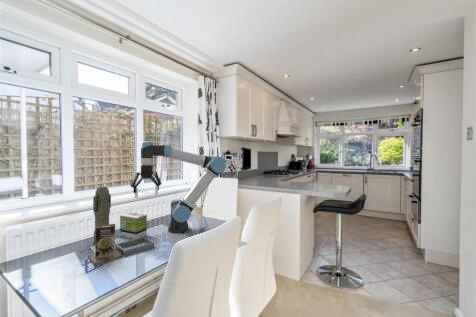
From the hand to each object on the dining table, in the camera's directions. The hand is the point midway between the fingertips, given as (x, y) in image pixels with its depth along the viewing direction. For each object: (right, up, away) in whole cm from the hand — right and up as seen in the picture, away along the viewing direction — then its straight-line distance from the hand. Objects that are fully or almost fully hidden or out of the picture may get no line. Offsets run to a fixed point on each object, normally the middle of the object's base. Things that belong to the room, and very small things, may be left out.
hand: (146, 196), depth 149 cm
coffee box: (-12, -28, -27) cm, 40 cm away
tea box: (-12, -29, +7) cm, 32 cm away
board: (-12, -29, -27) cm, 41 cm away
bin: (-1, -29, -14) cm, 32 cm away
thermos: (-28, -29, -3) cm, 40 cm away
